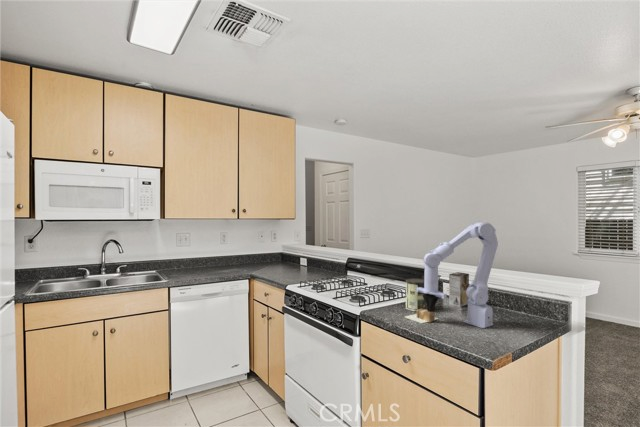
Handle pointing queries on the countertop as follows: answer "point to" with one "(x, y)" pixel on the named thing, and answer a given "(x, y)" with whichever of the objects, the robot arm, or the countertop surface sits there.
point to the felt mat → (414, 318)
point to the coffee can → (414, 295)
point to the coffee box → (458, 289)
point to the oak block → (425, 315)
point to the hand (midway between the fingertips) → (430, 311)
